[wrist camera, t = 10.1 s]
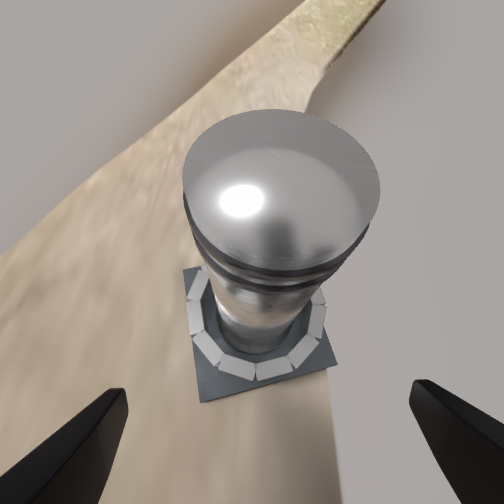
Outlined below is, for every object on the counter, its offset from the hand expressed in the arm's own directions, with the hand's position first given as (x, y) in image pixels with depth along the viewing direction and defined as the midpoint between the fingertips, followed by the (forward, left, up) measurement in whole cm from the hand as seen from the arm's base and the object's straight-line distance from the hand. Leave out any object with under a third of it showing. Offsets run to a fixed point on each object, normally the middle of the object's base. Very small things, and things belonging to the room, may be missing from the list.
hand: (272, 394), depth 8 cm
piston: (+4, -1, -8) cm, 9 cm away
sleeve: (+5, -1, -9) cm, 10 cm away
